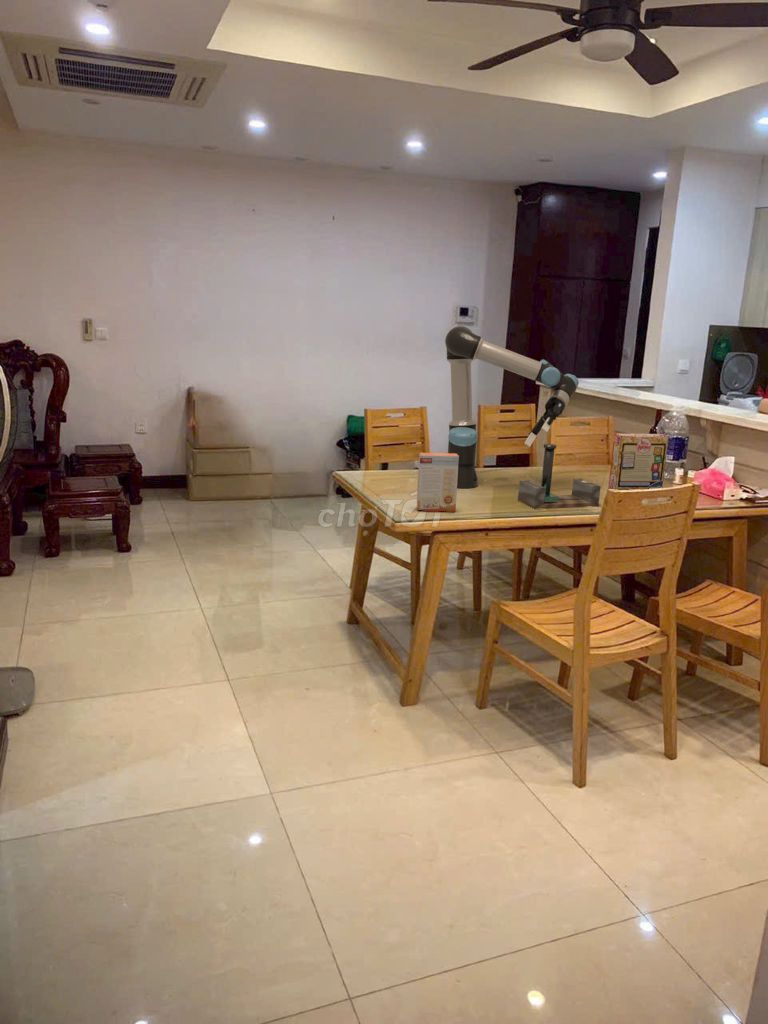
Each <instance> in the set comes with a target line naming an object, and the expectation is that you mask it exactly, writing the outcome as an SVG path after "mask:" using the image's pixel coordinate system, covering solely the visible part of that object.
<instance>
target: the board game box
mask: <svg viewBox="0 0 768 1024" xmlns="http://www.w3.org/2000/svg"><path fill="white" fill-rule="evenodd" d="M669 438H670V436H669V435H667V434H664V433H614V435H613V444H612V452H611V460H610V461H611V462H610V472H609V480H608V486H607V487H608V489H618V490H629V489H649V488H661V487H662V488H663V484H664V478H665V471H666V470H665V469H666V461H667V455H668V445H669ZM608 489H607V490H608Z"/></svg>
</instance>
